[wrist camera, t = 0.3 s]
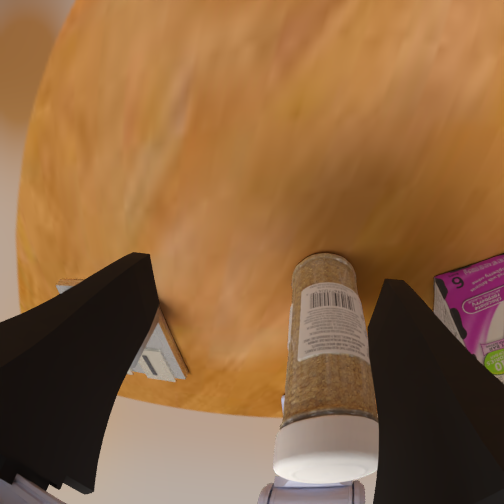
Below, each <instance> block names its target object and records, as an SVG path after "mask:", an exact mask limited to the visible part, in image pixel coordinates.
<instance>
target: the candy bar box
mask: <svg viewBox="0 0 504 504" xmlns="http://www.w3.org/2000/svg"><path fill="white" fill-rule="evenodd" d="M434 314H435V315H436V316H437V317H438V318H439V319H440V320H441V321H442V322H443V324H444V325H445V326H446V327H447V328H448V329H449V330H450V331H451V332H452V334H453V335H454V336H455V337H456V338H457V339H458V340H459V341H460V342H461V343H462V344H463V345H464V346H465V347H466V348H467V350H468V351H469V352H470V353H471V354H472V355H473V356H474V357H475V358H476V359H477V360H478V361H479V362H480V363H482V364H483V365H484V366H485V367H486V368H487V369H488V370H489V371H490V372H491V373H492V374H493V375H494V376H495V377H497V378H498V379H499V380H500V381H501V382H502V383H503V384H504V254H502V255H499V256H496V257H493V258H490V259H487V260H484V261H482V262H479V263H476V264H473V265H470V266H467V267H464V268H460V269H458V270H454V271H451V272H448V273H445V274H441V275H438V276H435V277H434Z"/></svg>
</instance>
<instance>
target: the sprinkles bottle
mask: <svg viewBox="0 0 504 504" xmlns="http://www.w3.org/2000/svg"><path fill="white" fill-rule="evenodd" d="M291 285H292V289H293V290H292V305H291V308H290V318H289V333H288V351H289V352H288V362H287V374H286V384H285V397H284V398H285V400H284V409H283V422H282V424H281V425H280V431H279V432H278V433H277V435H276V441H275V449H274V461H273V469H274V472H275V473H276V474H277V475H279V476H280V477H282V478H285V479H287V480H291V481H296V482H302V483H314V484H325V483H338V482H346V481H351V480H355V479H359V478H362V477H365V476H368V475H370V474H372V473H374V472H376V471H377V468H378V451H379V424H378V417H377V413H376V402H375V393H374V385H373V378H372V372H371V366H370V359H369V347H368V336H367V331H366V325H365V320H364V315H363V310H362V305H361V301H360V299H359V295H358V291H357V285H356V273H355V271H354V268H353V267H352V265H351V264H350V263H349V262H348V261H347V260H346V259H345V258H343V257H341V256H339V255H336V254H330V253H320V254H314V255H311V256H309V257H307V258H305V259H304V260H303V261H301V262H300V263H299V264H298V265H297V266H296V267H295V269H294V272H293V275H292V284H291Z"/></svg>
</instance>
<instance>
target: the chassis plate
mask: <svg viewBox="0 0 504 504" xmlns="http://www.w3.org/2000/svg"><path fill="white" fill-rule="evenodd" d="M82 281H83V280H70V279H61V280H60V281H59V282H58V283H57V284H56V287H57V289H58V291H59V293H60V294H61V293H63V292H64V291H66V290H68V289H69V288H71V287H73V286H75V285H76V284H78V283H80V282H82ZM156 313H157V314H158V316H159V322H158V324H157V326H156V328H155V330H154V332H153V334H152V336H151V338H150V339H149V341H148V343H147V345H146V347H145V349H144V351H143V353H142V355H141V357H140V359H139V361H138V363H137V365H136V367H135V368H129V370H128V372H127V374H130V375H134V373H133V372H132V371H134V372H140V373H145V374H146V375H147V377H148V378H153V379H159V380H165V381H172V382H176V381H177V380H176V379H175V378H179V379H186V378H187V375H188V370H187V368H186V365H185V363H184V361H183V359H182V357H181V355H180V353H179V351H178V348H177V346H176V344H175V342H174V340H173V337H172V335H171V333H170V331H169V328H168V326H167V324H166V321H165V319H164V317H163V314H162V312H161V309H160V307H158V309H157V312H156Z"/></svg>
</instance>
